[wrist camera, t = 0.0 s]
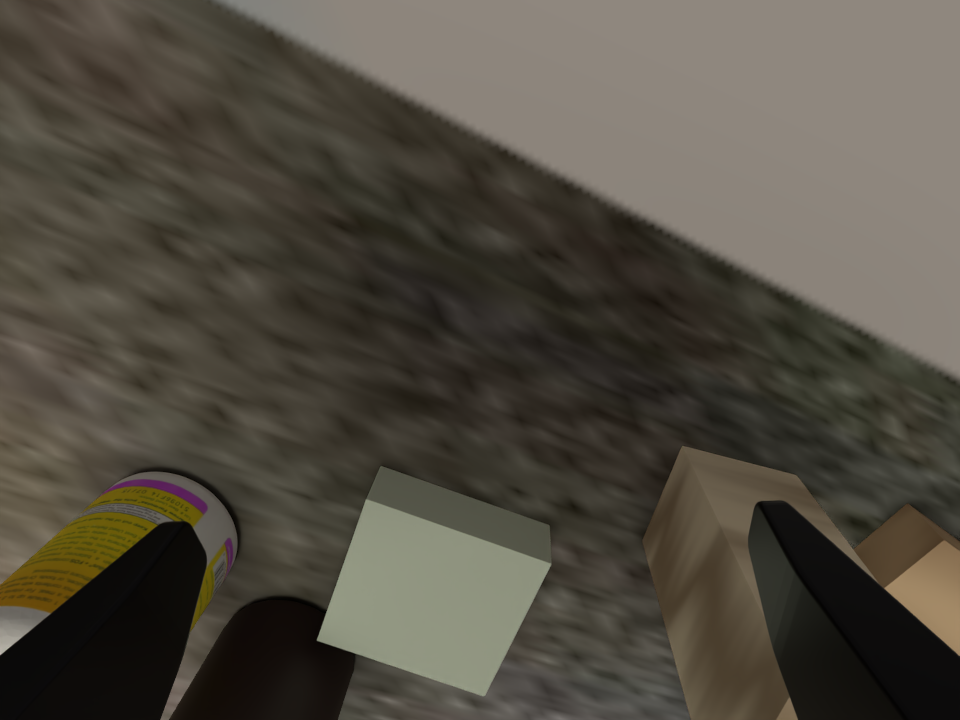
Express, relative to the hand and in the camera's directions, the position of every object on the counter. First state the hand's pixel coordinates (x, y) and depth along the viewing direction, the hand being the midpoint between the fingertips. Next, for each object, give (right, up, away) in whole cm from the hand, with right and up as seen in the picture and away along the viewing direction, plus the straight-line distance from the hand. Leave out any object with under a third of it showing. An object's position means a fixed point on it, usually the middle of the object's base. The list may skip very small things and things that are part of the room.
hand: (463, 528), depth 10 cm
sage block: (-2, -7, +20) cm, 21 cm away
